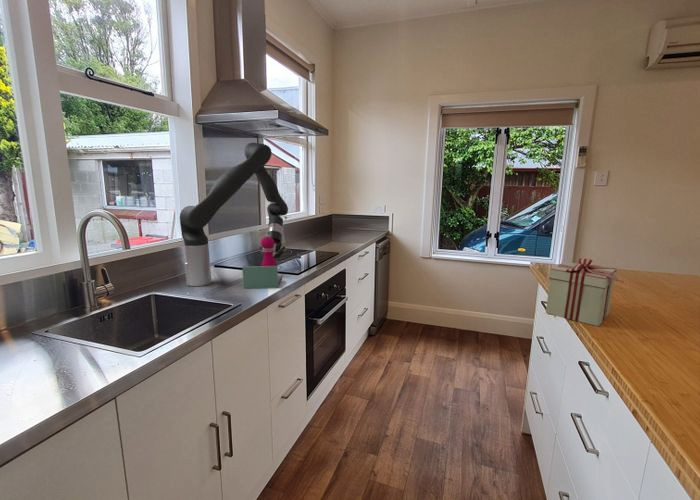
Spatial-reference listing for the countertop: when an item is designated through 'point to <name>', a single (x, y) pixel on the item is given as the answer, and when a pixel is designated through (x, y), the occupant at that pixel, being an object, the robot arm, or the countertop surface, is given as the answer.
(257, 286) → the green rectangular block
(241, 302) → the countertop surface
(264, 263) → the pepper mill
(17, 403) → the countertop surface
